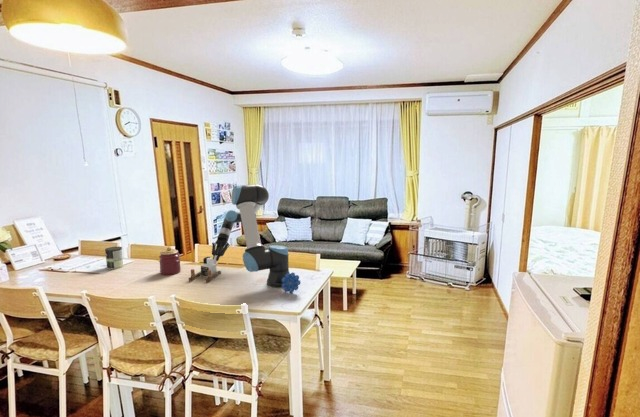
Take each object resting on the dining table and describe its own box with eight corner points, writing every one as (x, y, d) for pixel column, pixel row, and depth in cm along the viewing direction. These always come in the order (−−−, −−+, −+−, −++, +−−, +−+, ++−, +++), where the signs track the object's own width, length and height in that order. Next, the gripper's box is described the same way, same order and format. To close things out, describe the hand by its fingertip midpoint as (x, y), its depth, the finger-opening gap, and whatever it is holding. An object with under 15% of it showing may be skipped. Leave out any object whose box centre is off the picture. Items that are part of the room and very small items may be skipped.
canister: (166, 276, 218) (164, 250, 215) (156, 273, 226) (154, 247, 223) (184, 271, 228) (183, 246, 226) (174, 268, 236) (173, 243, 233)
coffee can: (105, 270, 232) (103, 250, 230) (108, 266, 241) (106, 247, 240) (122, 268, 236) (121, 249, 235) (124, 264, 246) (122, 245, 244)
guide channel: (202, 272, 225) (202, 263, 224) (221, 273, 223) (220, 264, 222) (188, 281, 209) (187, 271, 208) (208, 282, 206) (207, 272, 205)
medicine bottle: (201, 275, 219) (199, 258, 217) (209, 272, 225) (208, 255, 223) (208, 277, 215) (207, 259, 214) (217, 274, 222) (216, 256, 220)
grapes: (303, 290, 191) (302, 270, 190) (299, 295, 185) (298, 274, 183) (284, 288, 194) (283, 269, 193) (279, 293, 188) (279, 272, 186)
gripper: (234, 238, 242) (224, 267, 228) (217, 237, 244) (207, 266, 230) (230, 232, 236) (220, 262, 222) (213, 232, 239) (202, 261, 225)
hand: (213, 264), depth 226 cm, fingers closed
